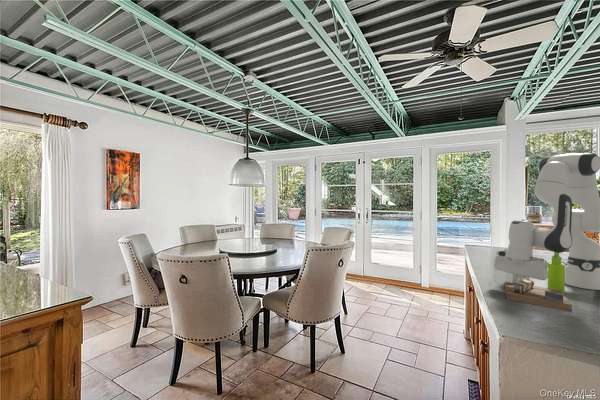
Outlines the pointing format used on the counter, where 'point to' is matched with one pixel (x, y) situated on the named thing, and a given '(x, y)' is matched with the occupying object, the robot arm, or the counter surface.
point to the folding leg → (523, 286)
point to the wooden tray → (539, 297)
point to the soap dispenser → (556, 273)
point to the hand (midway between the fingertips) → (518, 284)
